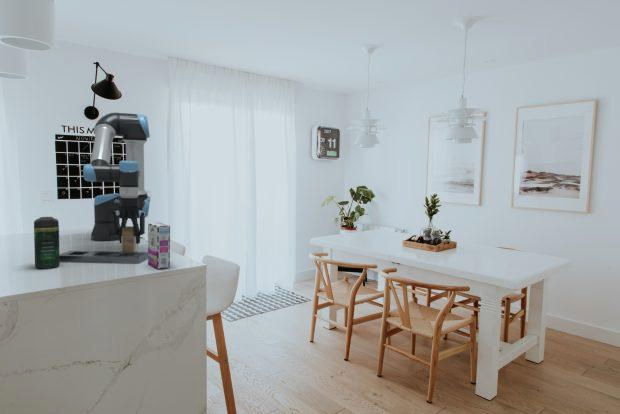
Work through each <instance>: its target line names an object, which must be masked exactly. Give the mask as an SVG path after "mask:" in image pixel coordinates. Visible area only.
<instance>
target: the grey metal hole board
mask: <svg viewBox="0 0 620 414" xmlns="http://www.w3.org/2000/svg"><path fill="white" fill-rule="evenodd" d="M59 254H60V263H86V264H87V263H91V264H92V263H94V264H95V263H97V264H132V265H133V264H136V265H139V264H141V263H143V262H144V261H146V260H148V251H147V252H145V251H137V252H122V251H110V250H109V251H106V250H104V251H103V250H68V251H65V252H63V253H59Z"/></svg>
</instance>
